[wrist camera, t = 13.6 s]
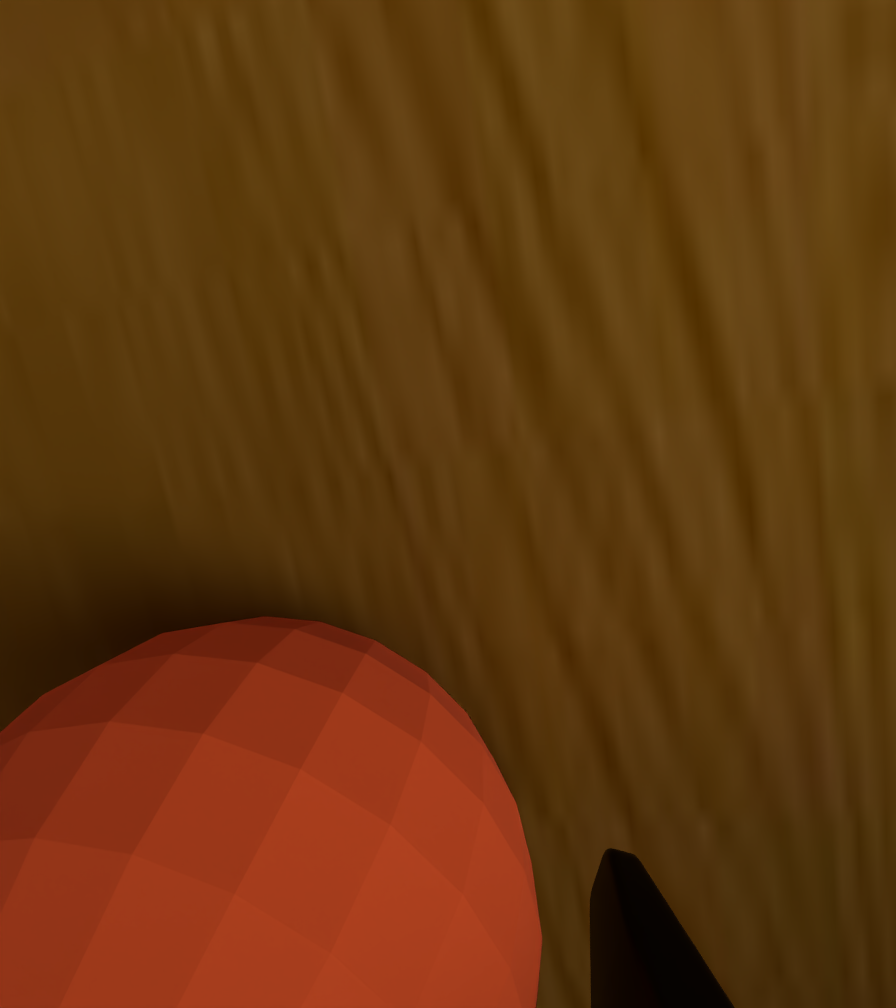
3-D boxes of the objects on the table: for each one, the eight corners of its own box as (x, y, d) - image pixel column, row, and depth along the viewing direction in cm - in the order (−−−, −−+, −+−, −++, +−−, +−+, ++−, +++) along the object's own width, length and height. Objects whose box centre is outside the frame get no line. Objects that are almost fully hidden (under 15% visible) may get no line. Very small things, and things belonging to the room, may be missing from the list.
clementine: (649, 601, 8) (1260, 1882, 1) (555, 928, 10) (603, 2115, 3) (166, 505, 9) (-996, 973, 2) (167, 824, 11) (-438, 1597, 4)
